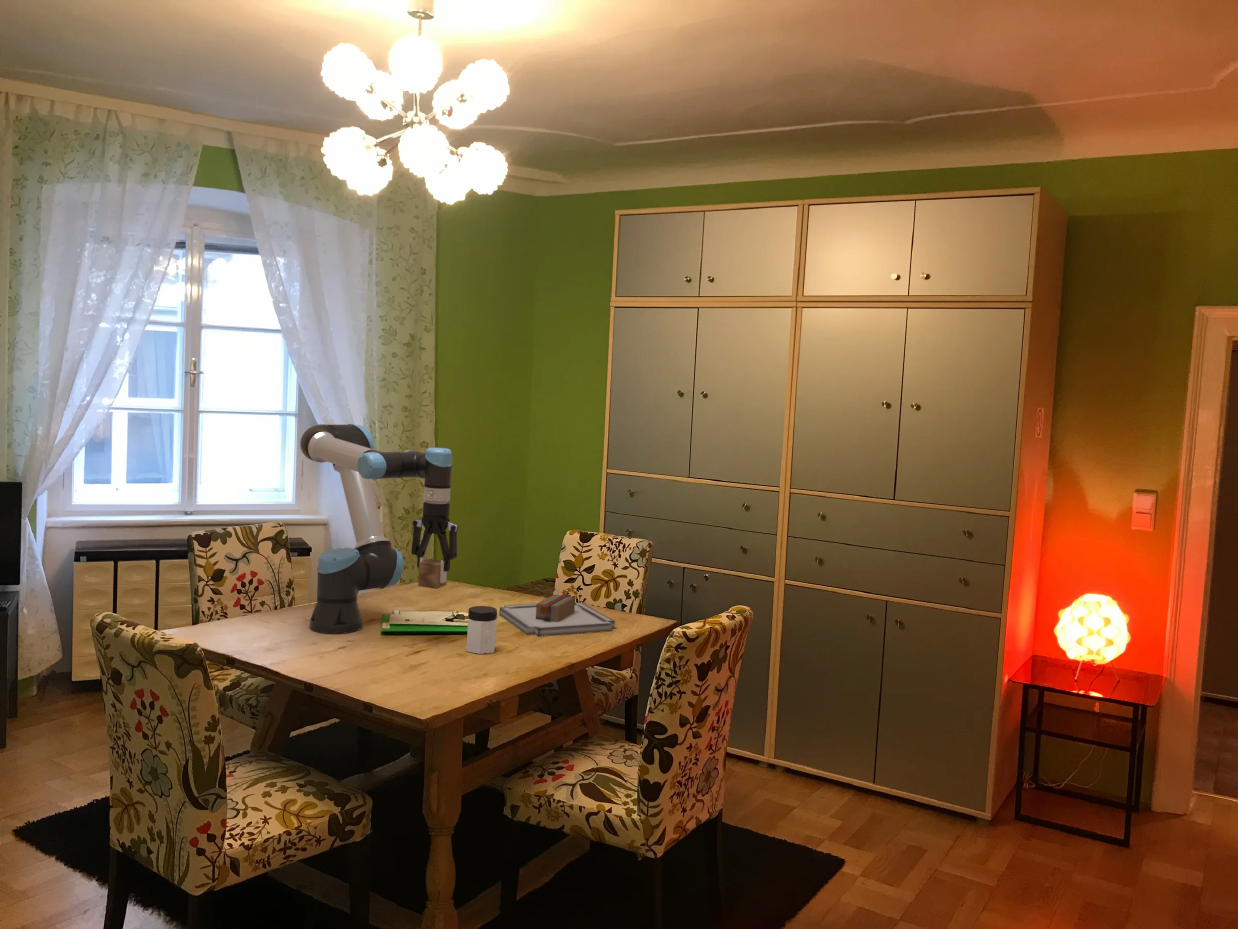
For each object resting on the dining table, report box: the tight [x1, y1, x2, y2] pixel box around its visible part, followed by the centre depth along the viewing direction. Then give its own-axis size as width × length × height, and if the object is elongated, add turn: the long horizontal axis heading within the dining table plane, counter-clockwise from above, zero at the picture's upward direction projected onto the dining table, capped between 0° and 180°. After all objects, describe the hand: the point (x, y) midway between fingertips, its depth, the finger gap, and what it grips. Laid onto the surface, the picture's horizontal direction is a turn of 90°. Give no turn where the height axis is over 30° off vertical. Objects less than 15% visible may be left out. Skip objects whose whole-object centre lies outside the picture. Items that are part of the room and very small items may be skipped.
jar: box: [466, 605, 498, 655], centre depth 282 cm, size 9×8×12 cm
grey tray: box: [498, 593, 616, 637], centre depth 319 cm, size 30×30×8 cm
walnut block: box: [417, 558, 448, 590], centre depth 285 cm, size 6×6×7 cm
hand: (432, 580), depth 286 cm, fingers closed on walnut block, 6 cm apart
